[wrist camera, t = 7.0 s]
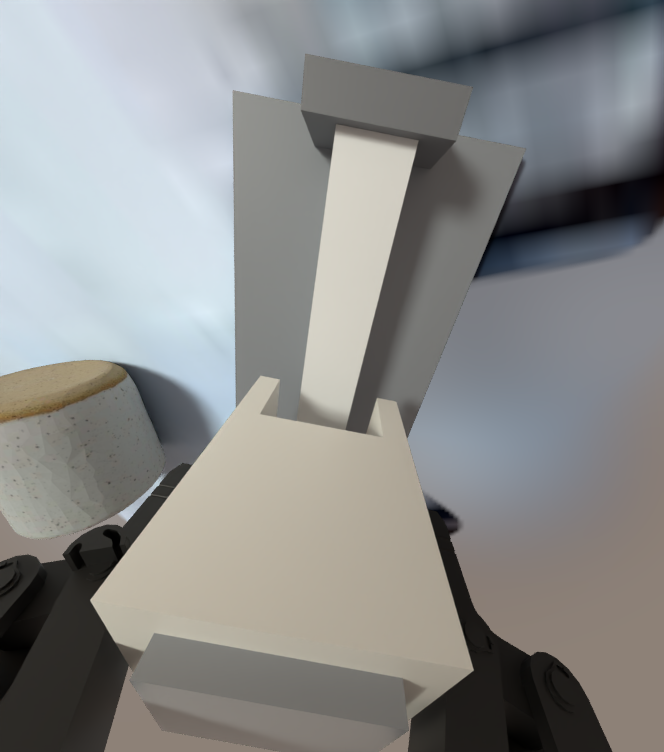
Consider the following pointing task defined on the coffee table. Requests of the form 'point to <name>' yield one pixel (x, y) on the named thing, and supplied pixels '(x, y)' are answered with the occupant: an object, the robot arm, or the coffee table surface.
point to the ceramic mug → (73, 447)
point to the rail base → (295, 252)
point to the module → (289, 589)
